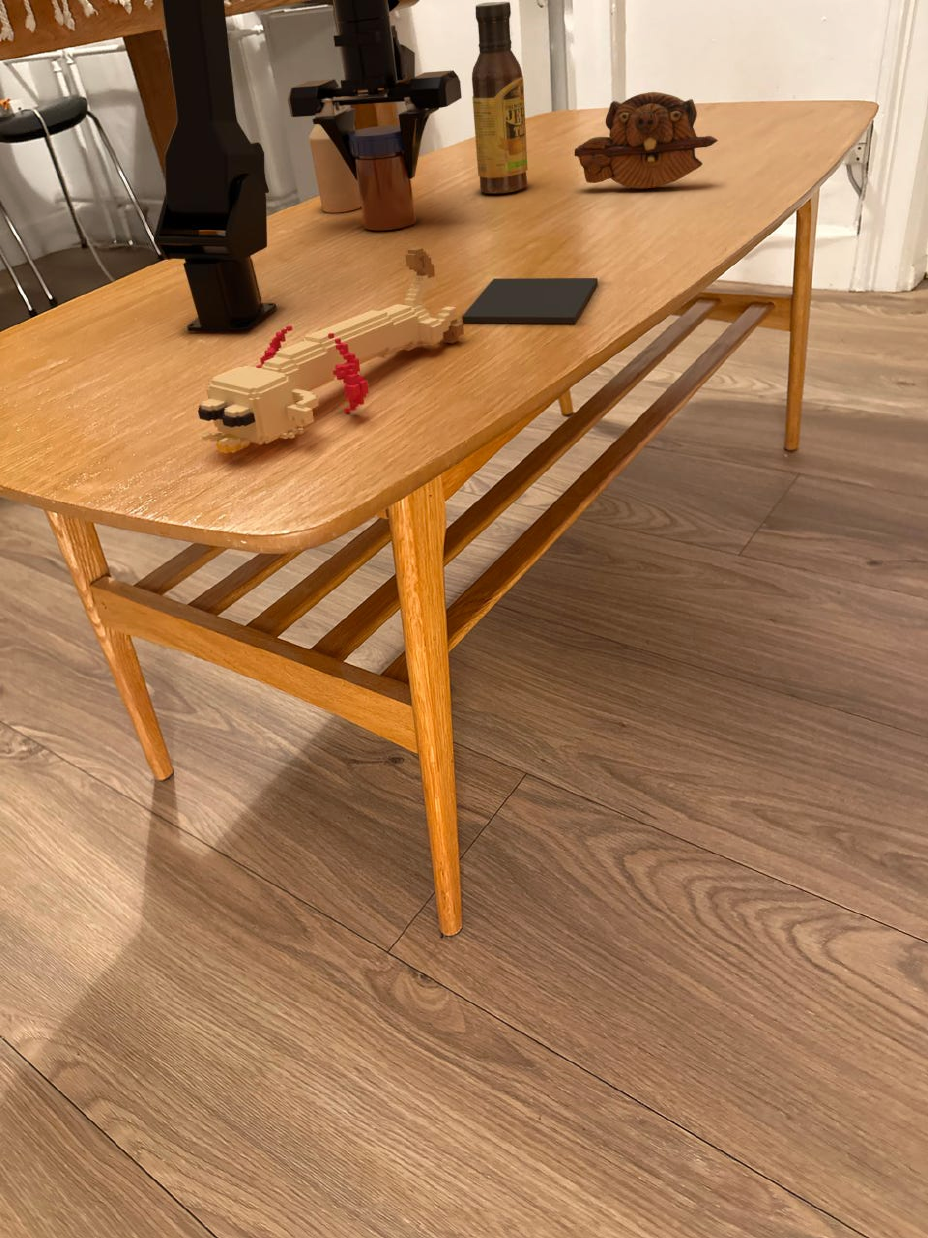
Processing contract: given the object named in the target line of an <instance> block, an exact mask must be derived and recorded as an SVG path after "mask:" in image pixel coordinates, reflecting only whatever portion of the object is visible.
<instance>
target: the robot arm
mask: <svg viewBox="0 0 928 1238" xmlns="http://www.w3.org/2000/svg"><path fill="white" fill-rule="evenodd" d="M161 2H162V10H163V11H162V12H163V18H164V27H165V34H166V41H167V49H168V56H169V57H168V58H169V63H170V73H171V79H172V86H173V87H172V89H173V94H174V95H173V96H174V101H175V109H176V123H175V126H174V129H173V132H172V135H171V136H170V140H169V143H168V146H167V149H166V151H165V154H164V179H165V195H164V198H163V202H162V205H161V209H160V213H159V216H158V221H157V224H156V228H155V233H154V236H153V243H154V245H155V246H156V248H157V250H158V252H159V253H160V255H161V256H162V258H163V259H164V260H165V261H166V260H167V261H170V260H184V263H183V265H182V266H183V268H184V272H185V276H186V279H187V284H188V285H189V290H190V293H191V297H192V300H193V304H194V308H195V312H196V314H197V315H196V316H197V318H195V319H194V320H192V321H191V322H190V323H188V324H187V325H186V330H187V331H188V332H197V333H198V332H204V333H208V332H209V333H210V332H211V333H246V332H248V331H250V330H251V329H253V328H254V327H255V326H256V325H258V324H259V323H261V322H262V321H263V320H265V318H267V317H268V316H269V315H270V314H272V313H273V312H274V311H276V310H277V308H278V306H277V303H276V302H262V295H261V291H260V287H259V282H258V279H257V274H256V271H255V266H254V262H253V259H252V256H253V255H255V254H257V253H259V252H260V251H262V250H265V249H266V248H267V247H268V223H267V222H268V220H267V217H268V216H267V194H269V193H270V189H269V186H268V182H267V178H266V172H265V151H264V150H263V147H262V144H261V143H260V142H258V141H257V142H255V141H254V142H251V141H250V139H249V138H248V137H247V135H246V133H245V132H244V130H243V128H242V126H241V125H240V123H239V122H238V117H237V111H236V110H237V109H236V101H235V92H234V83H233V73H232V64H231V54H230V45H229V35H228V25H227V17H226V7H225V6H226V5H225V0H161ZM419 2H420V0H332V4H333V10H334V11H333V12H334V15H335V21H336V29H337V34H334V35H333V36H332V37H333V42H334V48H338V47H339V48H340V55H341V61H342V68H343V74H344V78H343V79H341V80H340V86H339V84H338V82H337V81H336V79H335V78H332V79H320V80H309V81H305V82H303V83H300V84H298V85H295V86H292V87H291V88H290V90H289V93H288V98H287V103H288V108H289V114H290V117H291V118H302V117H314V118H312V123H313V125H316V124H319V125H321V127H322V128H323V129H324V131H325V132H326V133H327V135H328V136H329V138H330V139H331V140H332V142H333V143H334V144H335V146H336V147H337V149H338V150H339V152H340V154H341V155H342V157H343V159H344V160H345V162H346V164H347V165H348V167H349V169H350V170H351V172H352V174H353V176H354V177H355V179H356V180H357V173H356V166H355V160H354V158H355V155H352V154H351V153H350V148H349V141H348V140H349V136H348V134H349V133H350V132H352V131H355V130H356V129H355V120H356V108H354V107H353V108H347V106H355V105H369V104H372V105H373V104H387V103H401V102H403V103H404V105H405V109H406V110H404V111H402V112H400V113H399V114H398V116H397V117H398V123H399V125H400V130H401V137H402V144H403V152H404V159H405V166H406V170H407V173H408V177H409V178H410V179H411V180H412V179H414V178H415V176H416V173H417V167H418V161H419V157H420V150H421V145H422V139H423V136H424V131H425V129H426V125H427V122H428V120H429V118H430V116H431V115H432V114H433V113H435V112H437V111H438V110H440V109H442V108H447V107H449V106H451V105H452V104H454V103H456V102H457V101H459V100H461V99H462V98H463V95H462V85H461V80H460V78H459V77H460V76H459V75H458V74H457V73H456V72H455V71H454V69H451V70H440V71H427V72H422V73H420V74H418V75H416V53H415V51H413V50H411V49H410V48H409V47H407V46H406V45H404V44H403V43H402V44H401V43H400V41H399V38H398V37H399V36H398V31H397V29H396V25H395V24H393V25H392V23H391V15H390V13H393V12H396V11H400V10H404V9H408V8H411V7H413V6H415V5H416V4H417V3H419ZM357 181H358V180H357ZM200 232H224V234H200Z"/></svg>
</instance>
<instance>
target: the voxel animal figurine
mask: <svg viewBox="0 0 928 1238" xmlns="http://www.w3.org/2000/svg"><path fill="white" fill-rule="evenodd" d="M406 250H407V251H406V252H407V253H405V257H404V258H405V267H408V270H413V272H415V273H416V274H413V275H414V276H413V277H414V279H412V283H411V284H410V286H409V287H410V288H409V289H407V290H408V293H406V294H405V296H406V297H405V298H404V301H403V302H404V304H398V303H397V304H394V305H391V306H389V307H387V308H383V309H381V310H375V309H371V310H368V311H366V312H363V313H361V314H358V315H356V316H353V317H351V318H348V319H346V320H342V321H341V322H338V323H335V324H333V325H329V326H328V327H324V328H323V329H319V330H318V331H315V332H312V333H310V334H307V335H305V336H304V339H302V341H301V342H297V343H295V344H293V345H291V346H288V347H285V348H283V349H282V343H284V342H286V334H288V332H291V331H293V326H292V325H286V326H285V328H282V329H281V328H280V331H275V336H274V337H273V338H272V339H271V342H269V347H267V349H266V350H264V352H263V355H262V356H261V357H260V358H259V360H260V364H258V365H256V366H251V365H244V366H242V365H241V366H237V367H235V368H233V369H230V370H227V371H225V372H223V373H220V374H217V375H215V376H212V377H211V378H210V381H209V382H208V386H206V394H207V399H206V400H203V401H201V402H200V405H198V410H197V412H198V417H199V419H200V420H203V421H206V422H210V421H212V422H213V425H214V426H213V427H215V428H217V431H218V433H214V434H213V435H212V433H211V432H207V433H205V434H203V435H201V440H202V441H204V442H207V441H210V442H211V443H214V442H215V444H216V449H217V452H220V453H222V454H223V453H224V454H226V455H227V454H229V453H233V454H234V453H236V452H238V451H240V450H243V449H244V448H247V447H248V446H250V443H253V444H258V445H263V444H266V445H267V444H269V443H272V442H273V441H275V440H277V439H279V438H280V439H284V440H287V439H294V438H295V437H296V436H295V435H302V434H304V433H305V430H304V428H303V427H305V426H308V425H310V424H312V423H314V422H315V419H314V418H315V417H314V412H313V409H315V408H318V407H319V398H318V395H317V394H315V392H313V390H315V389H318V388H321V387H322V386H324V385H326V384H329V383H331V382H334V381H335V378H336V380H337V381H342V382H343V384H344V385H343V388H344V397H345V398H346V399H348V404H349V407H345V408H343V411H344V413H345V414H349V413H351V411H353V412H354V411H356V410H357V408H358V407H359V406H363V405H364V404H365V399H364V398H366V397H367V395H369V393H370V390H369V389H370V388H369V382H368V381H369V380H366V379H365V375H361V374H358V373H359V372H361V367H360V365H363V364H364V363H367V362H368V361H371V360H374V359H376V358H383V359H384V358H388V357H389V356H391V355H393V354H395V353H398V352H401V351H408V352H409V351H411V350H413V349H416V348H418V347H420V346H423V345H428V346H434V345H435V344H438V343H440V342H441V341H442V342H443V343H447V344H454V343H456V342H458V341H459V337H461V336H463V335H465V331H464V323H463V322H458V310H457V307H456V306H455V307H454V306H445V307H443V308H441V309H440V312H439V313H438V314H436V317H431V313H430V312H428V309H427V308H426V307H424V304H423V302H422V301H423V299H424V298H423V297H424V296H425V292H427V291H429V290H430V286H432V284H431V283H432V282H433V280H434V279H433V278H434V277H435V276H436V275H435V264H434V263H432V257H431V256H430V255H429V254H428V253H427V251H426V250H424V247H418V246H413V247H410V248H407V249H406ZM298 427H299V428H298Z"/></svg>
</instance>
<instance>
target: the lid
mask: <svg viewBox="0 0 928 1238" xmlns="http://www.w3.org/2000/svg"><path fill="white" fill-rule="evenodd" d="M348 136H349V140H348V141H349V148H350V153H351V154H352V155H355V156H376V155H385V154H391V153H396V152H400V151H403V144H402V137H401V130H400V124H399V125H398V124H390V125H389V124H387V125H377V126H370V127H365V128H360V129H355V131H352V132H350V133H349V134H348Z"/></svg>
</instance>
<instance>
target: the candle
mask: <svg viewBox="0 0 928 1238" xmlns="http://www.w3.org/2000/svg"><path fill="white" fill-rule="evenodd" d="M308 140H309V145H310V151H311V152H310V153H311V157H312V162H313V167H314V173H315V179H316V183H317V189H318V195H319V199H320V200H319V201H320V204H321V205H320V206H321V208H322V211H323V212H326V213H344V212H351V211H354V210H357V209H360V208H361V201H360V194H359V187H358V181H357V180H356V179H355V177H354V176H353V174H352V172H351V170H350V169H349V167H348V165H347V164H346V162H345V160H344V159H343V157H342V155H341V154H340V152H339V150H338V149H337V147H336V146H335V144H334V143H333V142H332V140H331V139H330V138H329V136H328V135H327V133H326V132H325V131H324V129H323V128H322V127H321V125H319V124H314V127H313V129H312V131H311V133H310V134H309V136H308Z"/></svg>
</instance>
